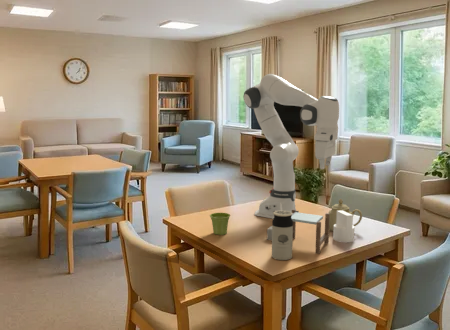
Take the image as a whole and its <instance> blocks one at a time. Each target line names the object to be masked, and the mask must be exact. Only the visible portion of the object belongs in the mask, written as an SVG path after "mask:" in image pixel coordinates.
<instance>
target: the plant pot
mask: <svg viewBox="0 0 450 330" xmlns="http://www.w3.org/2000/svg"><path fill="white" fill-rule="evenodd" d="M209 217H210V220H211V225H212V231H213V234H214V235H215V236H216V235H219V236H222V235H227V233H228V226H229V219H230V217H231V214H230V213H228V212H213V213H211V214H209Z"/></svg>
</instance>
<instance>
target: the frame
mask: <svg viewBox="0 0 450 330" xmlns="http://www.w3.org/2000/svg"><path fill="white" fill-rule="evenodd" d="M295 212H298V213H300V212H299V210H297V209H296V210H295V209H292V213H295ZM329 219H330V214H329V212H326V213H325V214H324V233H323V234H321V233H322V222H321V221H317V222H316V225H315V252H314V253H315V254H317V255H320V254H321V246H322V245H323V243H324V244H329V242H330V230H329ZM296 223H297V222H295V221H293V239H292V240H294V239H296V226H297V225H296Z"/></svg>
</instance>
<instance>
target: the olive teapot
mask: <svg viewBox="0 0 450 330" xmlns="http://www.w3.org/2000/svg"><path fill="white" fill-rule="evenodd" d="M339 210H343V211H345V212H347V213H349V214H352V215H353V216H354V215H355V212H358V214H359V218H358V221H357V222H356V223H354V224H353V226H354V227H357V226H358V225H359V224H360V223H361V222H362V219H363V213H362V211H361V210H360V209H357V208H356V209H354V210H352V211H350V207H349V206H348V205H347V204H344V201H343V198H339V200H338V203H335V204H334V205H331V209H330V210H329V211H328V213H329V214H330V219H329V232H333V230H334V224H336V216H337V211H339Z"/></svg>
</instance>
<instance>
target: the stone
mask: <svg viewBox="0 0 450 330" xmlns="http://www.w3.org/2000/svg"><path fill="white" fill-rule="evenodd" d="M266 235H267V236H266V239H267V240H268V241H272V225H271V226H269V227H268V228H267V229H266Z"/></svg>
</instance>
